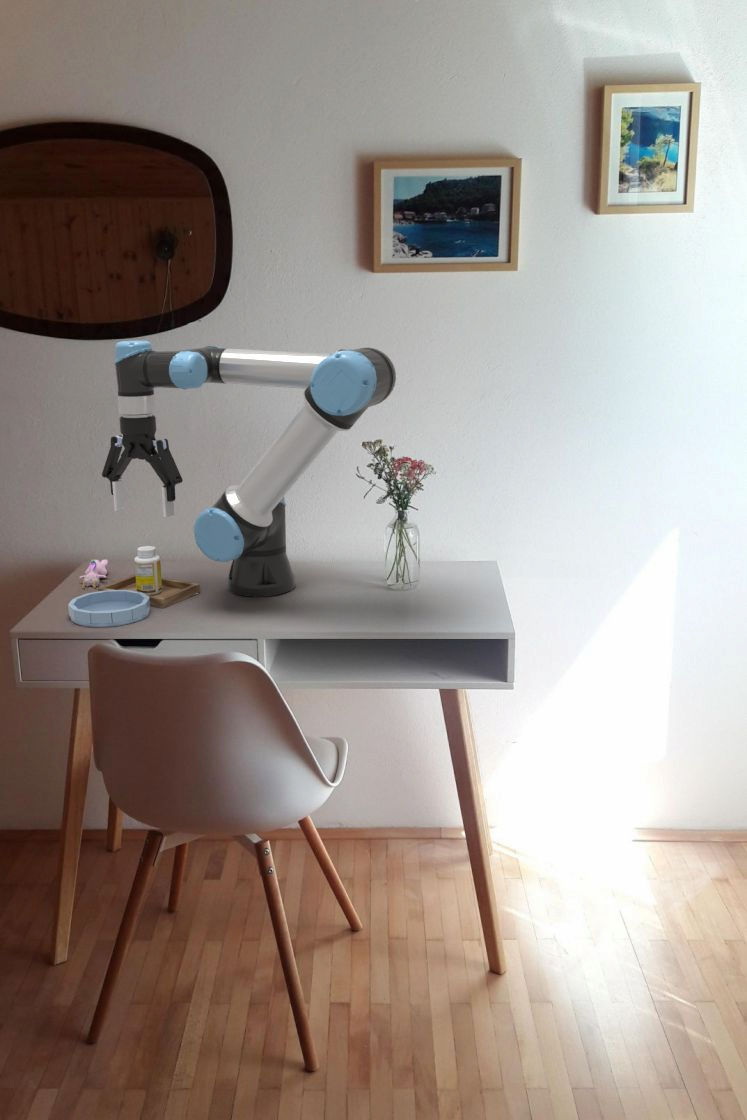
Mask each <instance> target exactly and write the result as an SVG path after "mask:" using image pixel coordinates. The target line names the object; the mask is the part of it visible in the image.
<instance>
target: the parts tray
mask: <svg viewBox="0 0 747 1120" xmlns="http://www.w3.org/2000/svg"><path fill="white" fill-rule="evenodd" d="M161 579H162V591H161V592H160V593H159V594H156V595H147V596H148V597H149V598H150V607H153V608H158V607H159V609H165V608H167V607H171V605H173V604H176V602H177V603H178V602H182V601H184V600H186V599H189V598H191V597H193V596H195V595H194V594H196V593H198V594H200V593H201V584H200V583H197V582H190V581H183V580H177V579H169V578H165V577H164V578H163V577H161ZM105 590H131V591H137V587H136V574H135V573H134V574H133V575H131V576H128V577H125V578H122V579H119V580H116V581H113V582H111V583H109V584H106V585H104V586H100V587H98V588H97V592H99V591H105ZM199 592H200V593H199ZM192 595H193V596H192ZM196 595H197V594H196ZM190 596H191V597H190ZM188 597H189V598H188ZM181 600H182V601H181Z"/></svg>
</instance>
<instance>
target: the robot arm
mask: <svg viewBox="0 0 747 1120" xmlns="http://www.w3.org/2000/svg"><path fill="white" fill-rule="evenodd" d="M114 351H115V352H114V355H115V358H114V360H115V361H114V366H115V372H116V373H115V374H116V382H117V384H116V385H117V405H118V413H119V415H121V416H120V418H119V429H120V430H119V431H120V433H121V435H120V434H119V435H115V436H111V437H110V447H109V450H108V454H107V456H106V460H105V463H104V466H103V470H102V472H101V476H102V477H103V478H106V479H108V481H109V482H110V494H111V495H112V496H113V498H112V499H113V508H114V509H113V511H114V512H120V511H123V510H126V500H125V499H126V498H125V485H124V479H123V478H122V475H123V474H124V472H125V471H126V470H127V468H128V466H129V465H130V463H131V461H132V460H136V459H138V460H143V461H145V462H146V463H149V465H150V466H151V468H152V470H153V471H154V472H155V474H156V475H157V477H158V478H159V480H161V482H162V484H163V486H161V488H160V489H161V498H162V499H161V501H162V514H163V515H162V516H163V518H169V517H172V516H175V508H174V506H175V505H174V502H175V501H176V485H179V484H182V482H183V477H182V476H181V473H180V471H179V468H178V466H177V463H176V462H175V459H174V457H173V455H172V452H171V450H170V447H169V440H168V439H167V438H162V439H158V440H157V439H156V432H157V419H156V418H157V417H156V416H155V415H154V413H156V408H155V407H156V405H155V389H156V388H166V389H167V388H168V389H182V390H191V389H199V388H201V387H203V384H209V383H210V384H224V385H225V384H230V385H231V384H232V385H243V386H245V385H246V386H256V387H257V386H258V387H259V386H260V387H270V388H271V387H273V388H285V389H287V388H288V389H298V390H299V389H302V390H304V391H303V401H304V404H302V406H301V407H300V409H298V411H297V412H296V413H295V415H294V416H293V417H292V419H291V420H290V421H289V422H288V424H286V426H285V427H284V428H283V430H282V431H281V432H280V433H279V435H277V438H276V439H275V440H274V441H273V443H271V445H270V446H269V447H268V449H267V450H266V451H265V452H264V453H263V455H262V456H261V457H260V459H259V460H258V461H257V462H256V464H255V465H253V468H252V469H251V470H250V471H249V472H248V474H247V475H246V476H245V477H244V478H243V479H242V481H241V483H240V484H238V485H237V484H236V485H230V486H228V487H227V488H226V490H225V491H224V492H223V493H222V494H221V496H219V498H217V499H218V500H217V501H216V502H215V503H214V504H213V505H212V506H211V507H207V508H206V509H204V510H203V511H202V512H201V513H200V514H199V515H198V516H197V517H196V518H195V521H194V523H193V534H194V541H195V544H196V545H197V547H198V549H199V550H200V552H202V553H203V554H204V555H205V557H207V558H209V559H210V560H212V561H215V562H219V563H226V562H231V561H232V563H231V566H230V570H229V573H228V576H227V590H228V591H229V592H230V593H232V594H235V595H239V596H243V597H256V598H259V597H273V596H278V594H279V595H282V594H281V593H283V594H286V593H288V592H287V591H289V590H291V589H292V590H294V589H295V587H296V582H295V581H296V579H295V574H294V572H293V569H292V566H291V563H290V560H289V558H288V555H287V554H288V553H287V539H286V538H287V535H286V533H287V532H286V530H287V529H286V506H287V505H286V501H285V497H286V495H287V493H288V492H289V491H291V489H292V488H293V486H294V485H295V484H296V483H297V481H298V480H299V479H300V477H301V476H302V475H303V474H304V473H306V471H307V470H308V468H309V467H310V466H311V465H312V463H313V462H315V460H316V458H318V456H320V454H321V453H322V451H323V450H324V449H325V448H326V447H327V445H328V444H329V443H330V442H331V441H332V440H333V438H334V437H335V436H336V434H337V433H338V432H343V431H345V432H346V431H349V430H351V428H352V427H354V425H356V423H357V421H358V420H359V419H360V418H361V416H362V415H363V414H364V413H365V412H366V411H367V410H368V409H369V408H370V407H374V406H377V405H378V404H381V403H383V402H385V400H386V399H388V398H389V396H390V395H391V394H392V392H393V391H394V388H395V386H396V381H397V373H396V369H395V365H394V363H393V361H392V360H391V359H390V357H389V356H388V355H387V354H386V353H384V352H383V351H381V350H379V349H377V348H374V347H373V348H372V347H360V348H355V349H342V348H341V349H337V350H336V351H335V352H334V353H319V352H304V351H303V352H300V351H286V350H265V349H264V350H262V349H243V348H224V347H222V346H217V345H207V346H206V345H205V346H204V347H200V348H199V347H198V348H191V349H184V350H183V349H182V350H172V351H170V350H169V351H168V350H166V351H165V350H163V351H161V350H160V351H156V350H153V348H152V343H151V342H150V341H148V340H123V341H119V342H117V343H116V344H115V347H114ZM123 447H124V450H122V449H123ZM121 452H122V453H121ZM294 586H295V587H294ZM293 588H294V589H293ZM292 590H291V591H292ZM285 592H286V593H285ZM289 592H290V591H289Z"/></svg>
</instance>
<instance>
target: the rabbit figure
mask: <svg viewBox="0 0 747 1120" xmlns="http://www.w3.org/2000/svg"><path fill="white" fill-rule="evenodd" d="M108 563H109V560H108V559H102V560H101V561H100V560H99V559H91V560H90V562H89V566H88V567H87V569H86V570H85V572H84V574H85V575H80V576H79V579H83V581H82V586H81V588H82V589H84V588H88V586H89V587H91V586H92V588H95V589H98V588H97V587H98V586H99V584H100V579H103V578H104V579H106V578H108V577H107V576H106V575H108V570H107V569H106V568H107V566H108ZM85 586H86V587H85ZM96 586H97V587H96Z"/></svg>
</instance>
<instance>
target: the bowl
mask: <svg viewBox="0 0 747 1120" xmlns="http://www.w3.org/2000/svg"><path fill="white" fill-rule="evenodd" d="M67 607H68V608H67V609H68V615H69V617H70V621H71V622H72V623H74V624H76V625H79V626H83V627H90V628H91V627H92V628H109V627H118V626H125V625H129V624H134V623H136V622H140V621H142V620H144V619H145V618H146V617H148V616H149V615H150V608H151V606H150V598H149V597H148V596H147V595H145V594H144V593H142V592H137V591H131V590H105V591H99V592H98V591H94V592H88V593H84V594H82V595H79V596H76V597H74V598H72V599H71V601H70V602H69V603H68V604H67Z"/></svg>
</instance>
